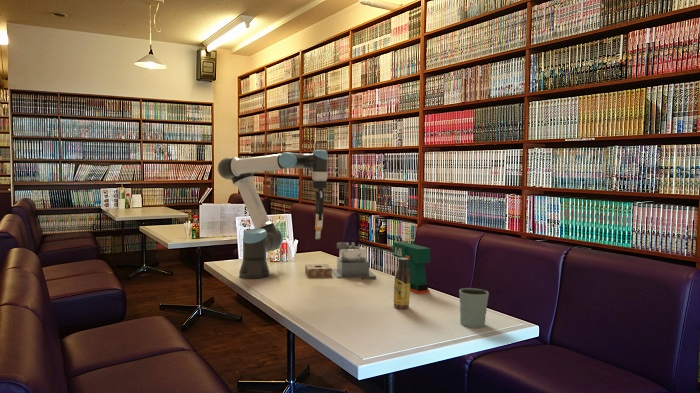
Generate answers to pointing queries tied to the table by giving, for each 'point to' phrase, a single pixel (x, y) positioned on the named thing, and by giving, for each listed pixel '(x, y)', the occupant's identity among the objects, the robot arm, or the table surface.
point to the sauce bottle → (402, 285)
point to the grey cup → (473, 307)
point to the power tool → (414, 264)
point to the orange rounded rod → (317, 230)
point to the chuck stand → (353, 270)
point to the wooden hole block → (318, 270)
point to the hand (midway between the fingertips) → (319, 226)
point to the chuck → (351, 252)
